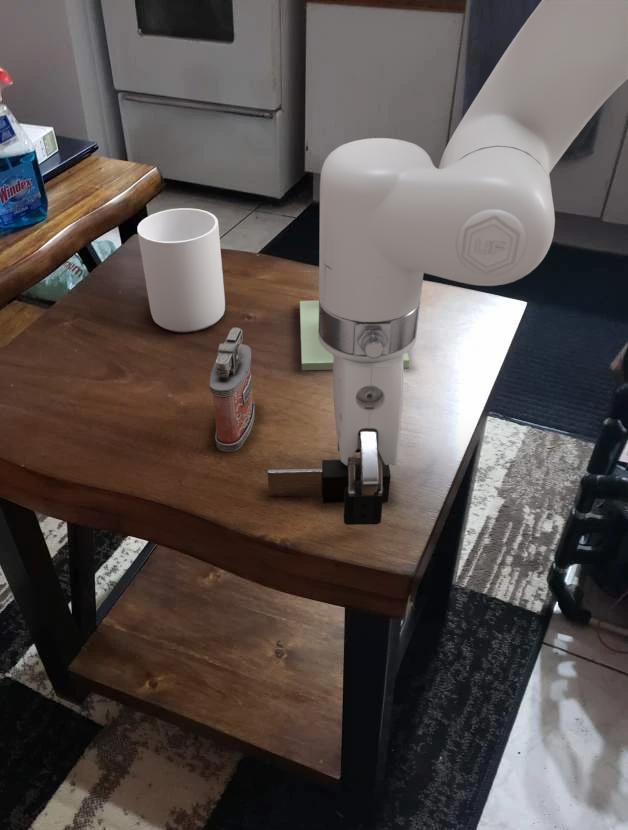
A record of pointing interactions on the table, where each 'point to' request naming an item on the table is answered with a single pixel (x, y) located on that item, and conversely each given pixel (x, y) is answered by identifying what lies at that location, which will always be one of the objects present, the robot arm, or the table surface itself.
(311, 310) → the butter plate
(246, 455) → the table surface
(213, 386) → the lighter
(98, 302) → the table surface
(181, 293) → the mug
